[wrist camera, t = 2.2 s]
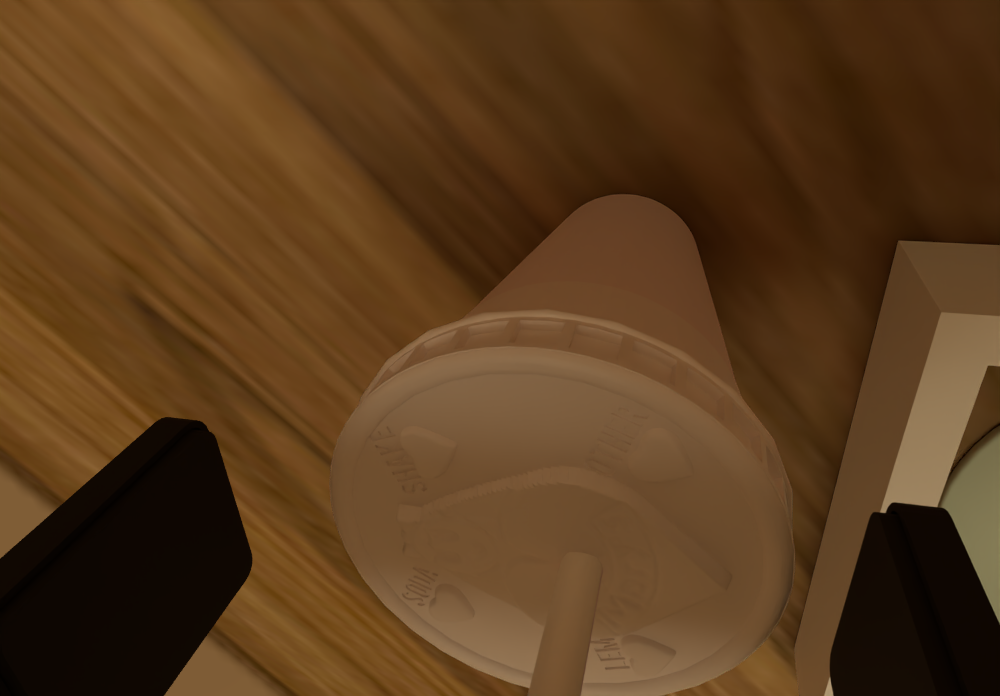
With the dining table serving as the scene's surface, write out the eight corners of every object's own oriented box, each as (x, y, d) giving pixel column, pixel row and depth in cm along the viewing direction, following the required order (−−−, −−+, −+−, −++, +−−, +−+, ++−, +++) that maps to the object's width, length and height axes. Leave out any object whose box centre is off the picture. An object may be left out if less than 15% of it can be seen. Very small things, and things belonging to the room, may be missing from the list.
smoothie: (743, 385, 18) (793, 1200, 6) (505, 364, 20) (203, 983, 8) (776, 134, 15) (999, 858, 3) (490, 135, 16) (-50, 614, 5)
